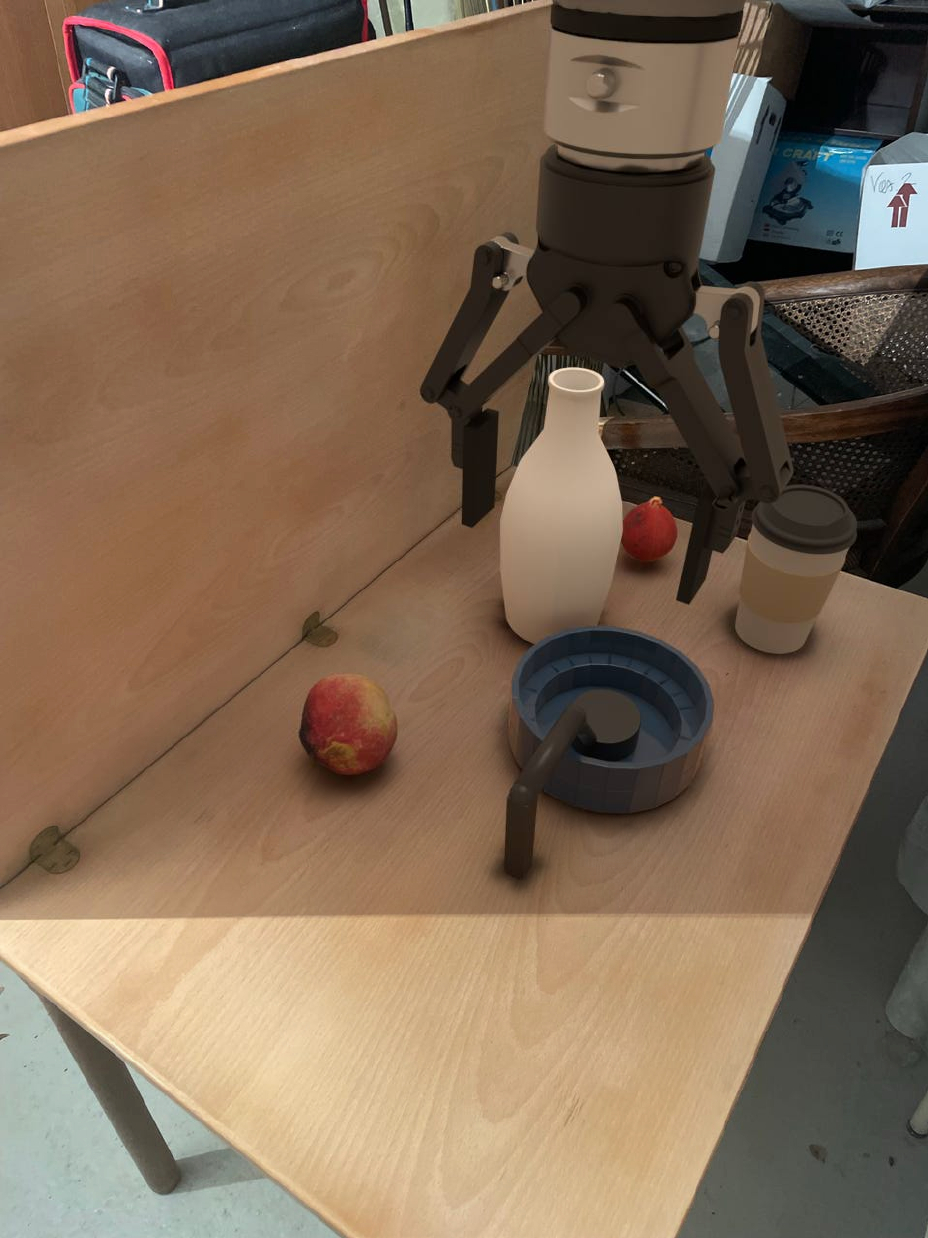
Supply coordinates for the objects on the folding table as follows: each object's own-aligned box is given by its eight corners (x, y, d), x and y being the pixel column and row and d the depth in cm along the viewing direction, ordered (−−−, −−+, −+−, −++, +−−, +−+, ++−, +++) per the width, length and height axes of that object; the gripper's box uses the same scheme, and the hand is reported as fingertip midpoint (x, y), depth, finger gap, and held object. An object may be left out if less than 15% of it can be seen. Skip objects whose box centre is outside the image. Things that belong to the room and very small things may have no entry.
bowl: (725, 718, 79) (740, 669, 75) (656, 851, 68) (670, 801, 64) (560, 652, 85) (565, 603, 81) (473, 764, 74) (475, 714, 71)
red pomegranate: (631, 581, 94) (642, 517, 89) (606, 550, 98) (616, 487, 93) (680, 571, 95) (694, 507, 90) (654, 541, 99) (666, 478, 94)
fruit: (409, 781, 73) (407, 713, 68) (316, 807, 71) (306, 738, 66) (382, 716, 78) (378, 648, 73) (295, 738, 76) (284, 669, 71)
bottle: (533, 672, 83) (556, 423, 67) (474, 604, 90) (482, 365, 74) (630, 635, 87) (674, 392, 71) (566, 573, 95) (593, 340, 78)
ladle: (585, 698, 79) (595, 615, 73) (648, 724, 77) (665, 641, 70) (477, 858, 67) (477, 777, 61) (548, 895, 65) (557, 815, 58)
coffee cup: (704, 627, 88) (737, 497, 79) (756, 590, 93) (793, 463, 83) (785, 675, 83) (830, 543, 74) (836, 632, 88) (884, 503, 78)
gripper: (341, 125, 41) (366, 516, 55) (919, 220, 31) (773, 666, 45) (430, 98, 46) (432, 463, 59) (952, 173, 36) (812, 587, 50)
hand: (579, 551), depth 52 cm, fingers open, 13 cm apart
